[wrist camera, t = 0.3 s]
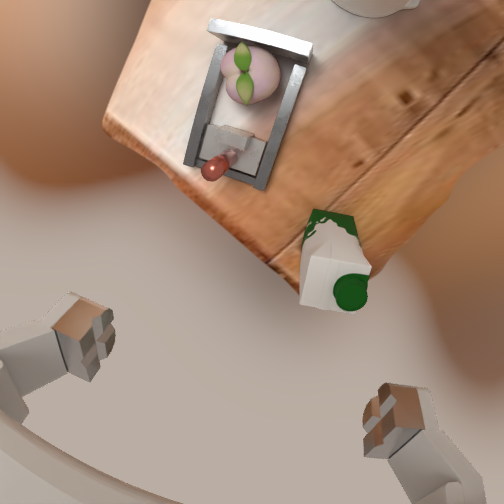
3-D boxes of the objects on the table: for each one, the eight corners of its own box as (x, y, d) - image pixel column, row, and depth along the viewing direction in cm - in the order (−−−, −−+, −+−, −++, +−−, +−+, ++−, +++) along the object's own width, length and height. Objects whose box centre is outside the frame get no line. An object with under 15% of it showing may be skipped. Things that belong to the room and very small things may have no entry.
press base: (227, 30, 42) (210, 18, 34) (312, 53, 41) (312, 43, 34) (188, 160, 53) (167, 173, 45) (265, 186, 53) (257, 203, 45)
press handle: (212, 121, 49) (186, 127, 39) (268, 138, 49) (256, 149, 39) (202, 155, 52) (175, 171, 42) (256, 173, 52) (242, 193, 42)
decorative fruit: (289, 97, 46) (284, 96, 37) (239, 108, 48) (223, 110, 39) (274, 43, 42) (266, 31, 33) (225, 56, 44) (206, 47, 35)
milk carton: (347, 256, 56) (359, 328, 39) (299, 247, 57) (291, 317, 40) (359, 212, 52) (380, 271, 35) (308, 202, 53) (305, 257, 36)
